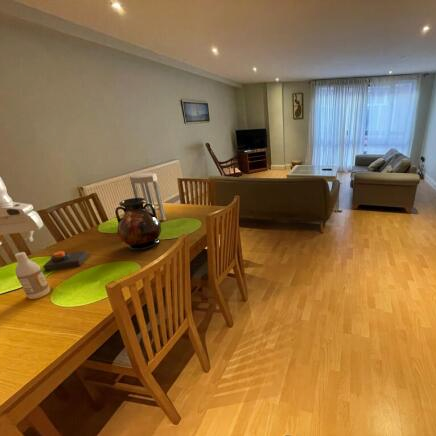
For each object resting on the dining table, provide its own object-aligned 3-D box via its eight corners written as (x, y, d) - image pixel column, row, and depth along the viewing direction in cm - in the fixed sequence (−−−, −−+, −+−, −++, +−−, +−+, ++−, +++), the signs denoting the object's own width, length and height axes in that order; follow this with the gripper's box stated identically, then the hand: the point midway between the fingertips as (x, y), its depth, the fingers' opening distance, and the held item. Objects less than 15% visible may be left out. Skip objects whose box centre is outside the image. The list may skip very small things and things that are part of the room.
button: (53, 258, 120) (51, 255, 120) (57, 255, 124) (55, 251, 123) (63, 257, 122) (61, 253, 121) (66, 253, 125) (65, 250, 124)
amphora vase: (165, 234, 156) (156, 193, 146) (163, 250, 138) (152, 203, 127) (127, 240, 148) (114, 197, 138) (119, 257, 130) (103, 209, 119)
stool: (150, 218, 184) (139, 172, 170) (170, 218, 183) (160, 172, 170) (137, 226, 169) (124, 177, 156) (158, 226, 169) (147, 177, 155)
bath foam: (45, 297, 101) (25, 256, 93) (24, 301, 98) (2, 259, 91) (54, 287, 107) (36, 248, 99) (34, 291, 104) (14, 251, 97)
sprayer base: (45, 271, 118) (41, 263, 116) (56, 260, 128) (53, 252, 126) (80, 266, 123) (76, 257, 121) (88, 255, 132) (85, 247, 130)
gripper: (-49, 217, 82) (-28, 252, 87) (27, 209, 89) (42, 242, 94) (-34, 211, 88) (-15, 244, 93) (37, 204, 94) (51, 235, 99)
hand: (14, 243), depth 93 cm, fingers open, 8 cm apart
